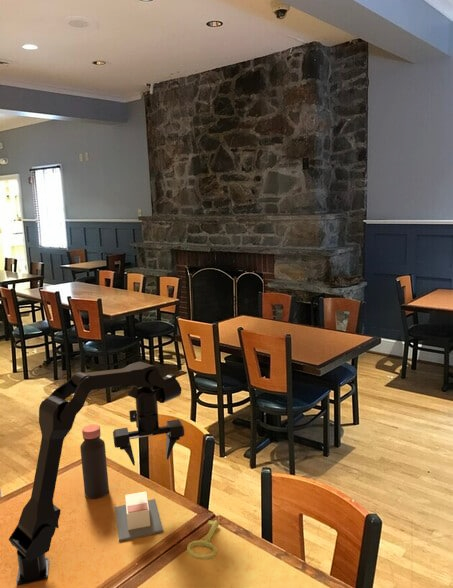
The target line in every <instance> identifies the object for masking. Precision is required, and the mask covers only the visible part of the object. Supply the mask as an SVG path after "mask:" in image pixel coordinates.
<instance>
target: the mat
mask: <svg viewBox="0 0 453 588" xmlns="http://www.w3.org/2000/svg"><path fill="white" fill-rule="evenodd" d="M147 500H148V506H149V516H150V526H147V527H142V528H136V529H131V530H128V523H127V511H126V504H122V505H118V506H114V510H115V511H114V512H115V519H116V527H117V534H118V542H119V543H120V542H125V541H128V540H133V539H138V538H139V539H140V538H142V537H143V538H144V537H147V536H151V535H152V536H153V535H156V534H161V533H164V528H163V524H162V521H161V516H160V513H159V509H158V505H157V501H156V499H155V498H152V499H147Z"/></svg>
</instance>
